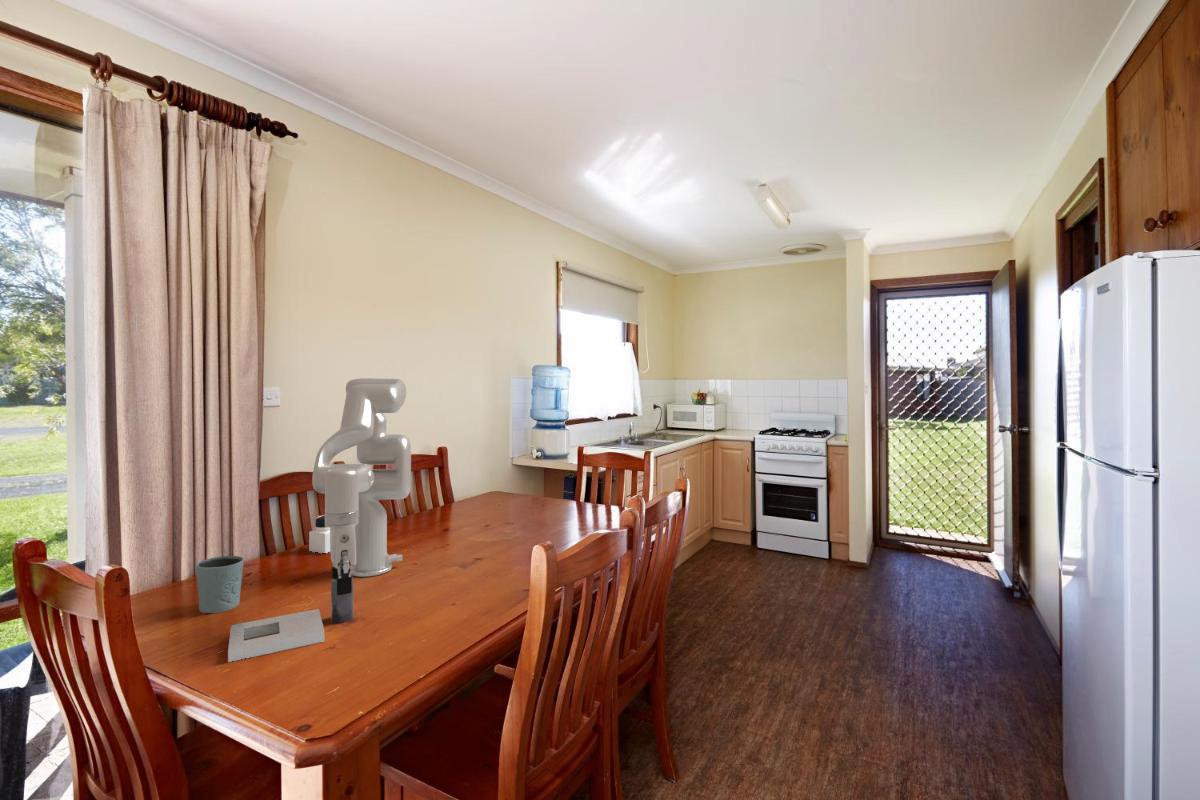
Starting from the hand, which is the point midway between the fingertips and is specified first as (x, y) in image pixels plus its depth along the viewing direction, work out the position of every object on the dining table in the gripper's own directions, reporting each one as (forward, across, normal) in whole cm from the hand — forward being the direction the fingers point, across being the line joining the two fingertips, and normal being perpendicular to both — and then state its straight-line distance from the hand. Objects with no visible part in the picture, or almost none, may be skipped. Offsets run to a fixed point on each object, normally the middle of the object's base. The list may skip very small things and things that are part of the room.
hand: (341, 587), depth 134 cm
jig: (+8, -3, +14) cm, 16 cm away
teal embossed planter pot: (+8, +25, +26) cm, 37 cm away
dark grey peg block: (+8, +1, 0) cm, 8 cm away
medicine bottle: (+7, +65, -2) cm, 65 cm away
